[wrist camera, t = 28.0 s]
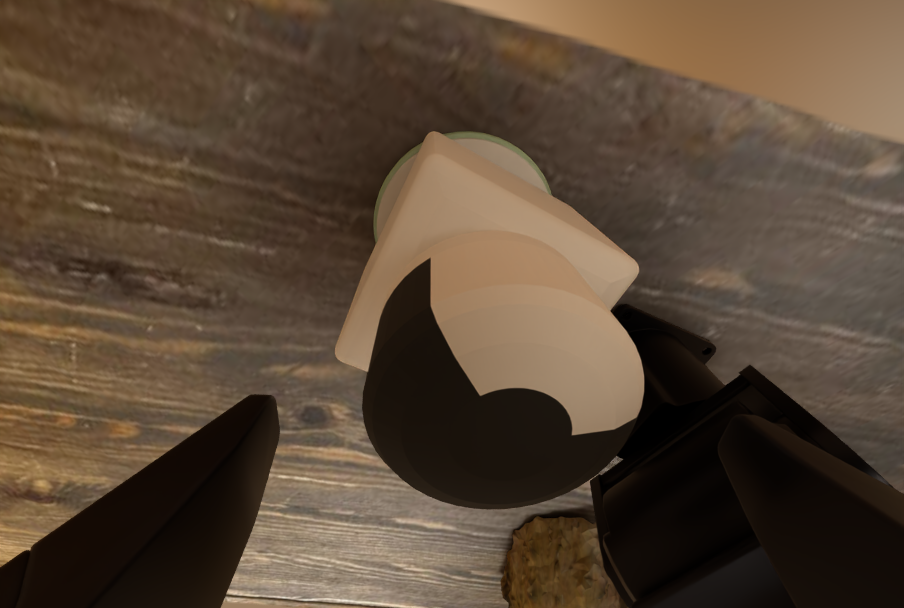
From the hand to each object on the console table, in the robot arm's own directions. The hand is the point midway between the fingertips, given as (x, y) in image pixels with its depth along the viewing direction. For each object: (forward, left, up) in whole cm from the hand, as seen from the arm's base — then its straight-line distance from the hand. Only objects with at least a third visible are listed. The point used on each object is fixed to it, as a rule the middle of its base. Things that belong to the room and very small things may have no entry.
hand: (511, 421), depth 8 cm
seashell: (-19, +21, -14) cm, 32 cm away
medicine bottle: (0, 0, -12) cm, 12 cm away
